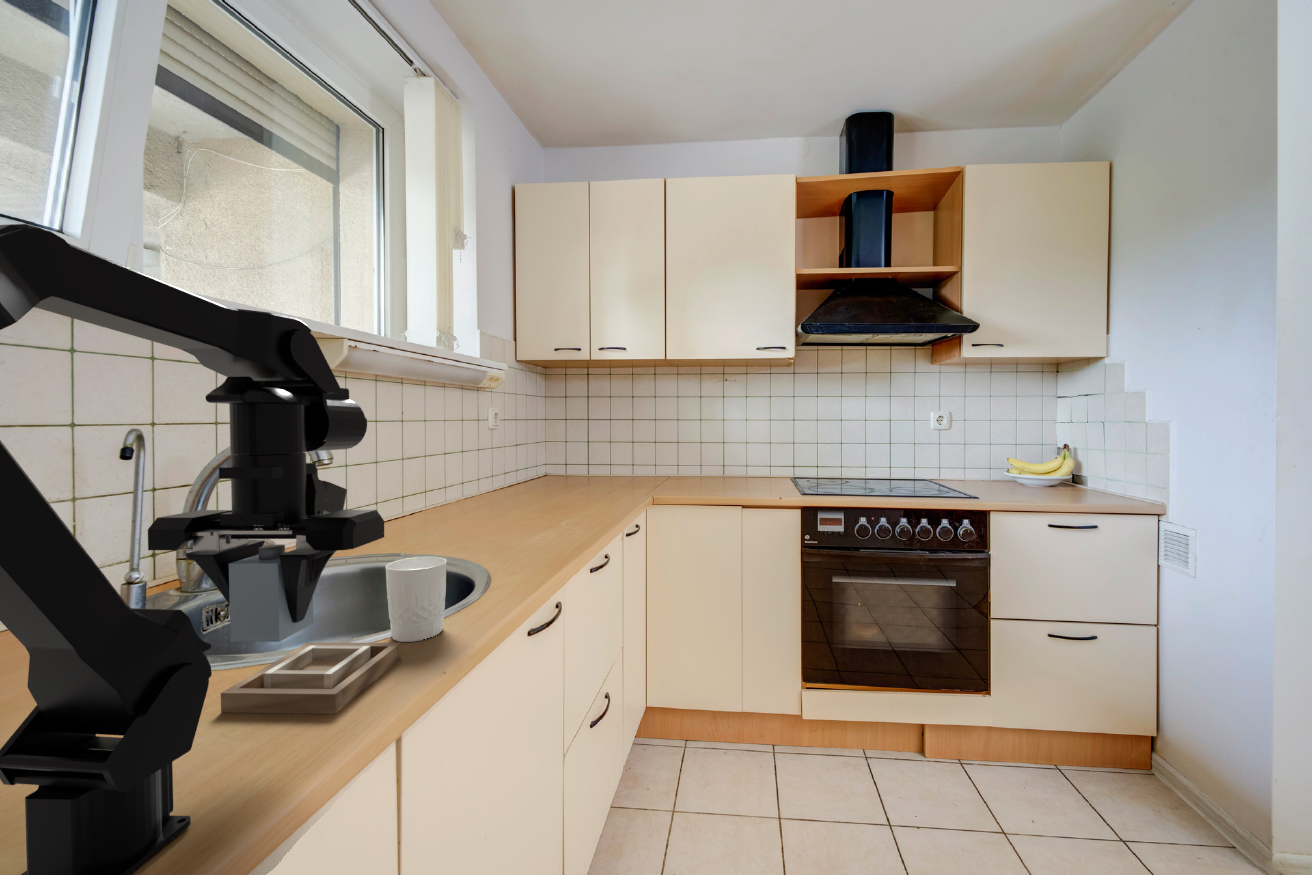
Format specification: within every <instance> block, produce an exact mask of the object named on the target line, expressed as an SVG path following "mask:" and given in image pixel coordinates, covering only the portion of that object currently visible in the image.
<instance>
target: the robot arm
mask: <svg viewBox="0 0 1312 875" xmlns="http://www.w3.org/2000/svg"><path fill="white" fill-rule="evenodd" d="M33 308H36V309H39V310H43V311H45V312H46V311H47V312H49V313H50V312H51V313H54V314H56V315H61V316H64V317H68V318H71V319H75V320H78V321H81V322H85V323H89V324H91V325H95V326H99V327H102V328H105V329H108V330H112V331H116V332H118V333H119V332H120V333H123V334H127V335H130V336H134V337H137V338H140V339H144V340H148V341H150V342H154V343H157V344H161V345H164V346H168V347H172V348H175V349H178V350H181V351H183V352H184V353H185V352H186V353H188V354H189V355H192V357H193V356H194V357H195V359H196V361H198V362H199V363H200V364H201V365H202V366H203V367H204V368H206V369H209V370H210V371H213V372H215V373H217V374H220V375H222V376H224V377H226V379H225V380H224V382H223V383H222V384H220V385H219V386H218V387H216V388H214V389H212V390H211V391H210V392H208V393H207V394H206V395H205V401H206V402H207V403H209V404H222V405H223V404H224V405H225V404H227V405H228V404H229V407H228V409H229V446H230V447H229V448H230V449H229V450H230V466H222V467H218V479H220V480H226V479H227V480H230V484H231V485H230V490H231V493H230V494H231V510H230V509H199V510H194V511H187V512H182V513H176V514H172V515H171V514H170V515H166V516H165V515H164V516H159V517H157V518H156V519H155V520H154V521H153V523H152V524H151V525H150V526H149V528H148V529H147V548H148V549H147V550H148V551H179V550H183V549H184V548H185V547H186V545H188V543H190V542H192V551H190V552H187V553H185V555H184V556H185V559H186V560H188V561H190V560H191V561H193V562H195V563H196V565H197V566H198V567H199V568H200V569H201V570H202V571H203V572H204V574H205V575H206V576H207V577H208V578H209V580H210V581H211V582H212V583H213V584H214V586H215V587H216V588H217V589H218V591H219V592H220V594H221V595H222V597H223V598H224V600H225V601H226V602H227V604H228V605H229V606H230V597H229V563H232V562H236V561H239V560H242V559H245V558H249V557H252V556H255V555H258V554H259V548H260V547H263V546H264V544H265V542H266V540H296V541H295V549H292V550H289V551H285V552H286V553H283V554H280V555H279V558H280V564H281V570H282V575H283V581H284V587H285V593H286V599H287V604H288V610H289V613H290V616H291V619H292V622H293V623H298V622H300V621H302V620H303V619H304V618H305V615H306V612H307V610H308V607H309V604H310V602H311V599H312V596H313V597H314V594H315V591H316V588H317V586H318V582H319V580H320V578H321V576H322V573H323V571H324V569H325V567H326V565H327V564H328V562H329V561H330V559H331V558H332V557H333V556H334V554H335V553H336V552H339V551H349V550H354V549H357V548H360V547H361V546H362V547H363V546H364V545H367V544H370V543H373V542H376V541H377V540H381V539H383V538H385V520H384V519H383V517H382V515H381V514H380V513H379V511H378V510H377V509H345V503H346V499H347V494H348V489H347V488H344V487H343V486H340V485H337V484H335V483H333V482H329V481H326V480H322V479H320V478H319V472H318V470H319V469H318V467H317V465H316V462H307V452H318V451H319V452H320V451H321V452H322V451H336V450H349V449H352V448H354V447H355V446H357V445H358V444H360V443H361V442H362V441H363V439H364V437H365V435H366V433H367V429H368V419H367V417H366V416H365V412H364V411H363V409H362V407H361V406H360V405H359V404H358V403H357V402H355V401H354V400H352V399H350V390H349V388H345V387H340V384H339V382H338V380H337V378H336V377H335V374H334V373H333V370H332V368H331V367H330V364H329V363H328V360H327V359H326V357H325V354H324V352H323V351H322V349H321V347H320V345H319V343H318V340H317V339H316V338H315V336H314V334H312V329H311V328H310V327H309V326H308V325H307V323H305V322H304V321H302V320H300V319H298V318H296V317H292V316H287V315H282V314H278V313H275V312H274V313H272V312H268V311H260V310H250V309H243V308H236V307H231V306H226V305H223V304H220V303H218V302H215V301H212V300H211V299H209V298H205V297H203V296H201V295H197V294H195V293H194V292H193V293H192V292H190V291H187V290H185V289H183V288H180V287H178V286H175V285H173V284H170V283H168V282H166V281H163V280H160V279H158V278H156V277H152V276H150V275H148V274H146V273H143V272H141V271H138V270H135V269H133V268H131V267H128V266H125V265H123V264H120V263H118V262H116V261H112V260H111V259H108V258H106V257H103V256H101V255H98V254H95V253H93V252H91V251H88V250H87V249H83V248H81V247H78V246H75V245H73V244H71V243H69V242H67V241H66V239H64V238H62V237H61V236H60V235H57V234H56V233H54V232H52V231H50V230H46V229H44V228H42V227H38V226H35V225H31V224H28V223H14V224H13V223H11V224H0V331H1V330H3V329H7V328H8V327H10V326H12V325H14V324H16V323H18V322H19V321H20V320H21V319H22V318H23V317H24V316H26V314H28V313H29V312H30V311H31V310H33ZM0 622H1V624H2V625H3V626H4V627H5V628H6V629H7V630H8V631H9V632H10V633H11V634H12V635H13V636H14V637H15V638H16V639H17V640H18V642H19V643H20V644H21V645H23V647H24V648H25V649H26V651H27V653H28V655H29V658H28V659H29V661H28V673H27V674H28V676H27V690H29V693H30V694H31V696H32V698H33V700H34V702H35V703H36V706H34V708H33V709H32V710H31V712H29V714H28V715H27V716H26V718H25V719H24V720H23V721H22V723H21V724H20V725H19V726H18V727H17V728H16V730H15V731H14V732H13V734H12V735H11V736H10V737H9V738H8V740H6V742H5V743H4V744H3V746H1V748H0V781H1V783H2V784H3V785H7V786H15V785H29V786H38V787H37V789H36V790H35V791H32V792H31V793H29V794H28V795H26V796H25V798H24V807H25V809H24V810H25V811H24V812H25V815H24V816H25V843H26V844H25V846H26V847H25V848H26V851H25V852H26V871H24V872H22V873H21V874H20V875H129V874H130V875H131V874H133V872H135V871H134V870H137V869H138V868H140V867H141V866H142V865H143V864H144V863H145V862H147V861H148V860H149V859H150V858H152V857H153V856H155V855H156V854H157V853H158V852H159V851H160V850H161V849H163V848H164V847H165V846H166V845H168V844H169V843H170V842H171V841H173V839H175V838H176V837H177V836H178V835H180V834H181V833H182V832H184V831H185V830H186V829H187V828H189V826H190V825H191V824H192V819H191V816H189V815H171V813H172V812H173V811H174V779H173V778H174V777H173V776H174V775H173V773H174V772H173V771H174V770H173V762H174V761H176V760H178V759H180V758H181V757H182V756H184V755H186V754H187V753H189V752H190V751H191V750H192V748H193V747H192V746H193V744H194V740H195V736H196V733H197V730H198V726H199V722H200V719H201V715H202V711H203V707H204V704H205V701H206V696H207V693H208V689H209V684H210V678H211V677H212V675H213V674H212V665H211V662H210V660H209V658H208V655H207V654H206V653H205V652H206V651H209V650H211V648H212V644H211V643H210V642H209V643H208V642H206V641H204V640H203V639H202V638H200V637H199V636H198V634H197V632H196V630H195V628H194V626H193V623H192V620H191V619H190V617H189V616H188V615H187V614H186V613H185V612H184V611H183V610H181V609H175V608H174V609H173V608H171V609H170V608H169V609H167V608H133V607H132V608H131V607H130V606H129V605H128V604H127V602H125V600H124V599H123V597H122V596H121V595H120V593H119V592H118V591H117V589H116V588H115V587H114V586H113V585H112V583H111V582H110V580H109V579H108V577H107V576H106V575H105V574H104V572H102V570H101V569H100V568H99V566H98V565H97V564H96V562H95V561H94V560H93V559H92V557H91V556H90V555H89V553H88V552H87V551H86V549H85V548H84V547H83V545H82V544H81V543H80V542H79V540H78V539H77V538H76V536H75V535H74V533H73V532H72V531H71V530H70V529H69V527H68V526H67V525H66V524H65V522H64V521H63V519H62V518H61V517H60V516H59V514H58V513H57V512H56V510H55V509H54V508H53V507H52V505H51V504H50V503H49V501H48V500H47V499H46V497H45V496H44V495H43V494H42V492H41V490H40V489H39V488H38V487H37V486H36V485H35V483H34V482H33V481H32V479H31V478H30V476H28V474H27V473H26V471H25V470H24V469H23V467H22V466H21V465H20V464H19V462H18V461H17V460H16V458H15V457H14V456H13V454H12V453H11V452H10V451H9V449H8V448H7V447H6V446H5V444H4V443H3V442H2V440H1V439H0ZM97 735H99V736H97ZM100 735H104V736H100ZM105 735H106V736H105ZM113 736H114V737H113ZM115 736H121V737H115ZM136 868H137V869H136Z"/></svg>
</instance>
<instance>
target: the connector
mask: <svg viewBox="0 0 1312 875" xmlns="http://www.w3.org/2000/svg"><path fill="white" fill-rule="evenodd" d="M286 552H287V551H286V545H285V544H269V545H263V546H262V547H260V548H259V554H258V555H255V556H252V557H249V558H245V559H242V560H239V561H236V562H232V563H229V597H230V605H229V628H230V629H229V630H230V631H229V633H230V635H229V636H230V642H244V643H245V642H246V643H247V642H248V643H249V642H259V643H261V642H262V643H264V642H266V643H267V642H269V643H273V642H274V643H275V642H277V643H280V642H282V641H284V640H285V639H288V638H289V637H290V636H293V635H294V634H297V633H299V632H300V631H302V630H303V629H305V628H307V627H309V626H311V625H313V624H314V595H313V596H312V599H311V602H310V604H309V607H308V610H307V612H306V615H305V618H304V619H303V620H302V621H300V622H298V623H293V622H292V619H291V616H290V613H289V610H288V604H287V599H286V593H285V587H284V581H283V575H282V570H281V564H280V558H279V555H280V554H283V553H286Z"/></svg>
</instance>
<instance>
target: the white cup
mask: <svg viewBox="0 0 1312 875" xmlns="http://www.w3.org/2000/svg"><path fill="white" fill-rule="evenodd" d="M447 563H448V562H447V558H445V557H440V556H414V557H407V558H401V559H398V560H395V561H391V562H388V563H387V564H386V565H385V580H386V596H387V597H386V598H387V607H388V618H389V620H390V622H389V624H390V636H391V639H392V640H393V641H397V642H398V643H401V642H402V643H403V642H404V643H412V642H413V643H414V642H419V641H424V640H423V639H425V640H428V639H427V638H429V639H431V638H430V637H432V638H434V637H435V636H434V635H436V636H438V635H439V634H438V633H440V632H441V631H443V630H444V621H445V619H444V618H445V615H444V613H445V607H446V601H445V600H446V593H447V591H446V590H447V589H446V588H447V565H448V564H447ZM442 629H443V630H442ZM441 633H442V632H441ZM441 633H440V634H441ZM437 634H438V635H437ZM433 636H434V637H433Z"/></svg>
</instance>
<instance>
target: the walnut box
mask: <svg viewBox="0 0 1312 875" xmlns="http://www.w3.org/2000/svg"><path fill="white" fill-rule="evenodd" d="M401 660H402V643H401V642H321V641H320V642H309V641H308V642H305V643H303V644H302V645H301V646H299V647H297V648H295V649H294V650H292V651H290V652H288V653H287V654H285V655H283V656H282V657H280V658H278V659H276V660H275V661H273V662H271V663H270V664H268V665H266V666H264V667H263V668H261V669H260V670H258V671H255V672H254V673H253V674H251V675H249V676H248V677H246V678H244V679H242V680H241V681H239V682H236V683H235V684H234V685H232V686H230V687H229V688H227V689H225V690H223V691H221V692H220V713H234V714H235V713H238V714H239V713H241V714H244V713H247V714H248V713H249V714H329V715H331V714H332V715H333V714H334V715H336V714H337V713H338V712H340V711H341V710H342V709H343V708H345V707H346V706H347V705H348V704H349V703H350V702H352V701H353V700H354V699H355V698H356V697H357V696H359V695H360V694H361V693H362V692H363V691H365V690H366V689H367V688H369V687H370V686H371V685H372V684H374V682H376V680H378V679H379V678H380V677H381V676H383V675H384V674H385V673H386V672H387V671H389V670H390V669H391V668H392V667H393V666H395V664H397V663H398V662H399V661H401Z"/></svg>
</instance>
